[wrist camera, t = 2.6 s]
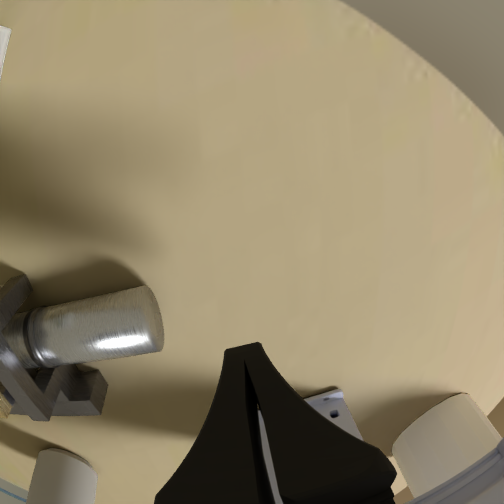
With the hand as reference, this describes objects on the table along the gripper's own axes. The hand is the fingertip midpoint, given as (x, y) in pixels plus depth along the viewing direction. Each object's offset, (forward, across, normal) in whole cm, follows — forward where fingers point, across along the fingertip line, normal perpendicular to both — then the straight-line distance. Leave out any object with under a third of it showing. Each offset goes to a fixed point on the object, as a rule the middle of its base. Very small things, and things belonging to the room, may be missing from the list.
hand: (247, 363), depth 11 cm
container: (+7, -21, +30) cm, 38 cm away
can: (+7, +24, +19) cm, 31 cm away
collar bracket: (+7, +16, +2) cm, 17 cm away
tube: (+7, +10, 0) cm, 13 cm away
